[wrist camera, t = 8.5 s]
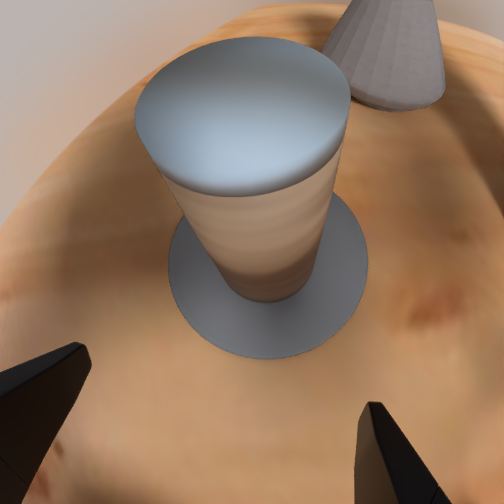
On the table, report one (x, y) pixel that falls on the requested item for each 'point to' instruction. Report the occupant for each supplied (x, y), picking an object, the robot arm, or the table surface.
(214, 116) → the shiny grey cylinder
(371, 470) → the robot arm
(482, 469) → the table surface
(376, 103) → the coffee pot
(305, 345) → the felt mat
